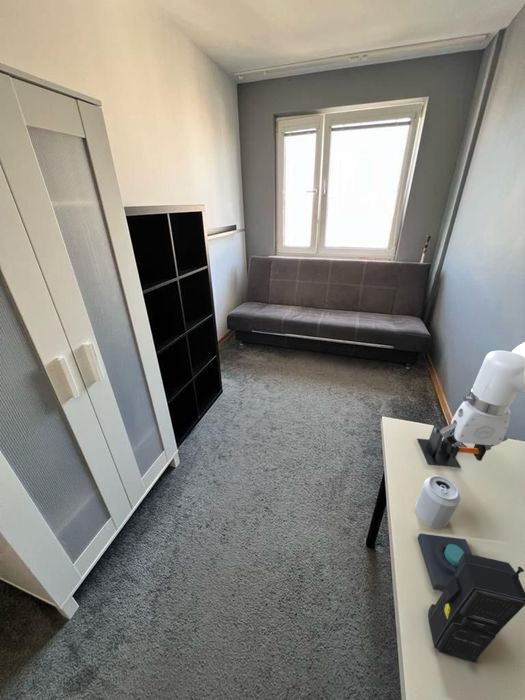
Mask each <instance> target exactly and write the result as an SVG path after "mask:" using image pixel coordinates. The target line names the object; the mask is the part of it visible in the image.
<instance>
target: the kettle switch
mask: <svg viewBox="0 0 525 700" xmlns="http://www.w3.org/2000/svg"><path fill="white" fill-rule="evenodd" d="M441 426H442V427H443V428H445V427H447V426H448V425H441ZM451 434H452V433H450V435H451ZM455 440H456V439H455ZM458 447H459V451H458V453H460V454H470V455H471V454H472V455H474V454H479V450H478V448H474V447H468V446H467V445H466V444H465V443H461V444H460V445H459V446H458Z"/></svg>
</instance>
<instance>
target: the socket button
mask: <svg viewBox="0 0 525 700" xmlns="http://www.w3.org/2000/svg"><path fill="white" fill-rule="evenodd" d="M463 553H464V552H463V550H462V549H461V548H460V547H458V546H457V545H454V544H449V545H447V547H446V549H445V550H444V555H445V558H446V559H447V561H448V562H449V563H450V564H452V565H453V566H456V567H458V561H459V559H460V558H461V556H462V554H463Z"/></svg>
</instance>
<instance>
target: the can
mask: <svg viewBox="0 0 525 700" xmlns="http://www.w3.org/2000/svg"><path fill="white" fill-rule="evenodd" d="M460 501H461V495H460V491H459V489H458V487H457V485H456V484H455V483H454V482H453V481H452V480H450V479H449V478H447V477H445V476H442V475H432V476H430V477H427V479H425V480H424V482H423V484H422V487H421V490H420V493H419V494H418V498H417V500H416V503H415V506H414V511H415V514H416V516H417V518H418V520H420V522H422V523H423V524H424V525H425V526H427V527H429V528H431V529H434V530H442V529H443V530H444V529H446V527H447V526H448V525H449V523H450V521H451V519H452V518H453V516H454V514H455V511H456V509H457V508H458V506H459V504H460Z"/></svg>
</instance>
